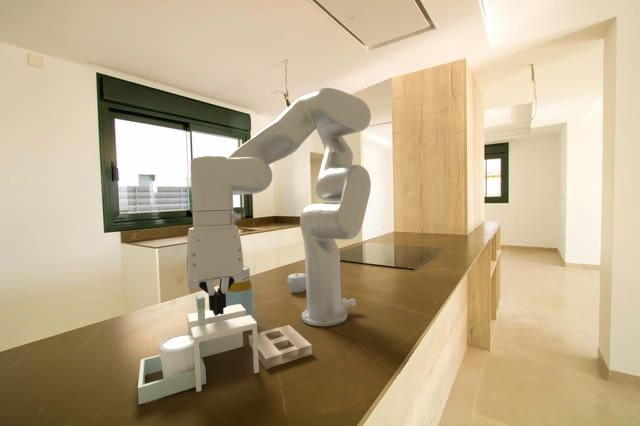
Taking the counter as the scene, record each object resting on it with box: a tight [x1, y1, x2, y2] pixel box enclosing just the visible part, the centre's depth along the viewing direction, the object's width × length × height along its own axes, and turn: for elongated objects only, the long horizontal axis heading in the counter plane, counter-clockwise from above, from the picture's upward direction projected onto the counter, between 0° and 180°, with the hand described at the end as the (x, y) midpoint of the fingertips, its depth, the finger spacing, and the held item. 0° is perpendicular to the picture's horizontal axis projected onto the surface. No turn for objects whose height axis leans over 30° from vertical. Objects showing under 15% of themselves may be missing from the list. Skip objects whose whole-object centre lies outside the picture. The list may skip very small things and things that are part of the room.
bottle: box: [226, 265, 254, 319], centre depth 78 cm, size 7×7×15 cm
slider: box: [137, 294, 208, 405], centre depth 54 cm, size 11×10×14 cm
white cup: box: [158, 333, 195, 379], centre depth 54 cm, size 7×7×7 cm
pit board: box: [248, 324, 313, 370], centre depth 64 cm, size 10×12×2 cm
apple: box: [286, 272, 306, 294], centre depth 105 cm, size 8×8×7 cm
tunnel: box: [186, 304, 260, 393], centre depth 58 cm, size 11×13×10 cm
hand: (217, 312), depth 57 cm, fingers closed
